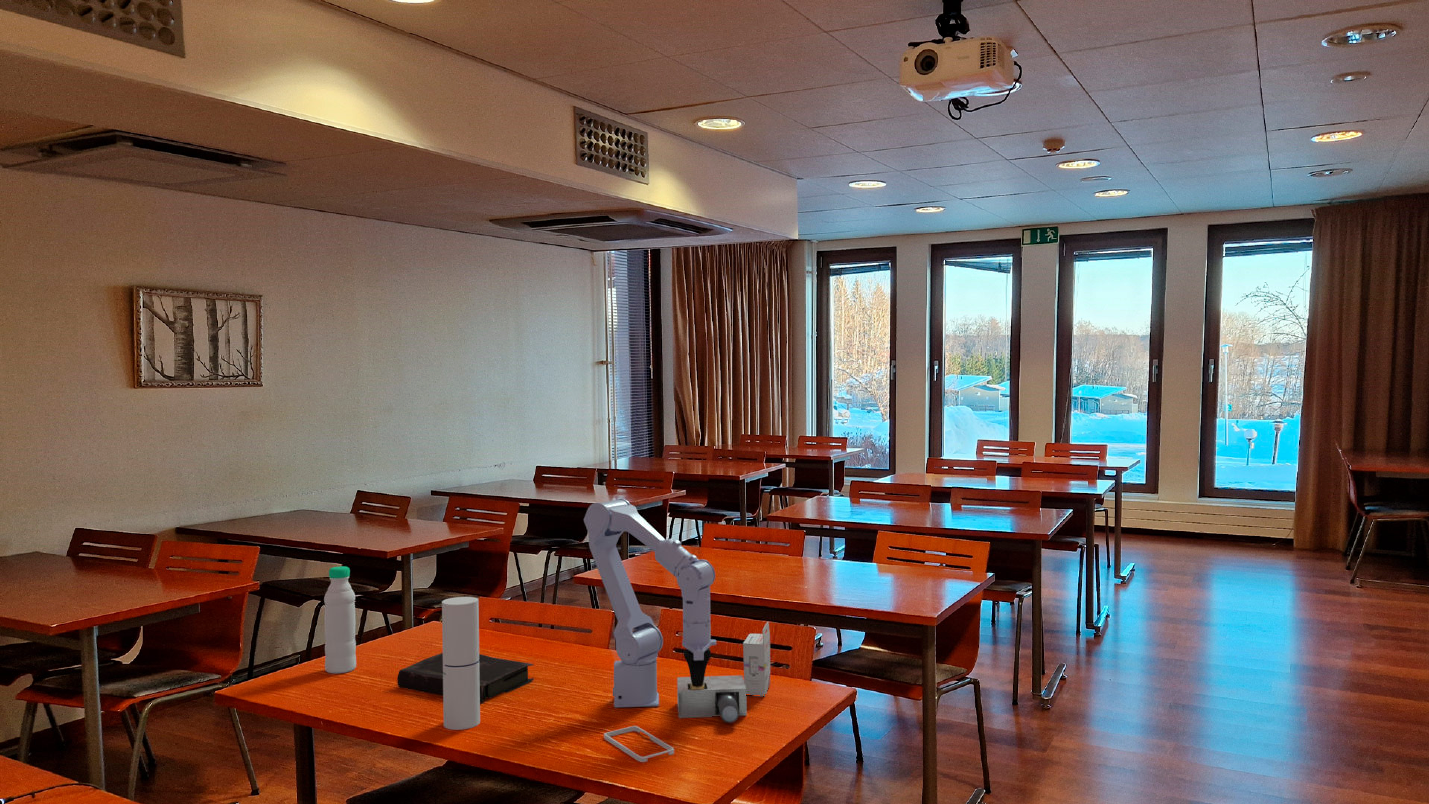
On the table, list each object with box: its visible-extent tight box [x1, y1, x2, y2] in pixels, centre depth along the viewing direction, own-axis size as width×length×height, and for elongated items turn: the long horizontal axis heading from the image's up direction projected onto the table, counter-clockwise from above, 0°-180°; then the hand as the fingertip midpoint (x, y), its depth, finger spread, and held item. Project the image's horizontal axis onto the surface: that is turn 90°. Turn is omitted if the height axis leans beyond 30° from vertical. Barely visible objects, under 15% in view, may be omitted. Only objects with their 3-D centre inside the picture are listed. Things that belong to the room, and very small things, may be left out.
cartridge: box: [716, 692, 740, 724], centre depth 192 cm, size 4×12×4 cm, turn 4°
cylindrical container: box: [441, 596, 481, 731], centre depth 190 cm, size 7×7×25 cm
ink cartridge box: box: [742, 621, 771, 697], centre depth 209 cm, size 9×5×15 cm, turn 168°
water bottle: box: [323, 565, 357, 675], centre depth 227 cm, size 7×7×25 cm
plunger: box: [690, 684, 705, 690], centre depth 195 cm, size 3×3×2 cm
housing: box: [676, 674, 748, 719], centre depth 197 cm, size 14×9×6 cm, turn 94°
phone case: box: [603, 725, 675, 763], centre depth 177 cm, size 7×1×15 cm
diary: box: [396, 652, 535, 704], centre depth 216 cm, size 19×25×5 cm
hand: (697, 685), depth 195 cm, fingers closed, pressing on plunger
